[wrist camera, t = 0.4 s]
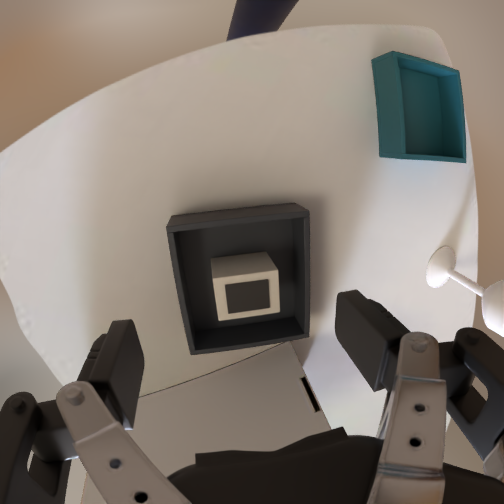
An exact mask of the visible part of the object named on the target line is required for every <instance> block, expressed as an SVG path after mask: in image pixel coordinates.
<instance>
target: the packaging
mask: <svg viewBox="0 0 504 504" xmlns="http://www.w3.org/2000/svg"><path fill="white" fill-rule="evenodd" d="M329 430H332V429H331V427H330V425H329V423H328V421H327V419H326V417H325V415H324V412H323V410H322V408H321V406H320V404H319V402H318V400H317V398H316V396H315V393H314V391H313V389H312V387H311V385H310V383H309V381H308V379H307V376H306V374H305V372H304V370H303V368H302V366H301V364H300V362H299V360H298V357H297V355H296V353H295V351H294V349H293V347H292V345H291V343H290V341H287V342H285V343H283V344H281V345H278V346H276V347H274V348H272V349H269V350H267V351H265V352H262V353H260V354H258V355H255V356H253V357H250V358H248V359H246V360H243V361H241V362H238V363H236V364H233V365H231V366H228V367H226V368H223V369H221V370H218V371H215V372H213V373H210V374H207V375H205V376H202V377H199V378H197V379H194V380H191V381H188V382H185V383H183V384H180V385H177V386H174V387H171V388H168V389H165V390H162V391H159V392H156V393H153V394H150V395H146V396H143V397H140V398H138V403H137V409H136V415H135V421H134V427H133V430H126V431H127V432H128V434H129V435H130V436H131V438H132V439H133V440H134V441H135V443H136V444H137V445H138V446H139V447H140V449H141V450H142V451H143V452H144V453H145V455H146V456H147V457H148V458H149V459H150V460H151V462H152V463H153V464H154V465H155V466H156V467H157V468H158V469H159V471H160V472H161V473H162V474H163V475H164V476H165V477H168V476H169V475H171V474H172V473H174V472H175V471H177V470H179V469H181V468H184V467H186V466H189V465H192V464H195V453H207V452H217V451H226V450H243V451H275V450H278V449H280V448H283V447H285V446H287V445H290V444H292V443H294V442H296V441H299V440H301V439H303V438H305V437H307V436H310V435H314V434H318V433H321V432H325V431H329ZM81 504H107V503H106V501H105V500H104V498H103V497H102V495H101V494H100V492H99V491H98V489H97V488H96V486H95V484H94V483H93V481H92V479H91V478H90V476H89V474H88V473H87V474H86V479H85V483H84V489H83V494H82V500H81Z"/></svg>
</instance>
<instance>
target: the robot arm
mask: <svg viewBox="0 0 504 504" xmlns="http://www.w3.org/2000/svg"><path fill="white" fill-rule="evenodd" d="M335 333H336V337H337V339H338V341H339V342H340V344H341V345H342V347H343V348H344V349H345V351H346V352H347V354H348V355H349V357H350V358H351V359H352V361H353V362H354V364H355V365H356V367H357V368H358V369H359V371H360V372H361V374H362V375H363V377H364V378H365V379H366V381H367V382H368V384H369V385H370V387H371V388H372V390H373V391H374V392H376V391H379V390H382V389H384V388H386V390H387V391H388V392H387V395H386V398H385V403H384V407H383V411H382V416H381V420H380V424H379V428H378V431H377V435H376V437H370V436H362V435H348V436H347V434H346V432H345V430H344V428H343V427H339V428H336V429H332V430H329V431H325V432H321V433H318V434H314V435H310V436H307V437H305V438H303V439H301V440H299V441H296V442H294V443H292V444H290V445H287V446H285V447H283V448H280V449H278V450H275V451H243V450H226V451H217V452H207V453H195V464H192V465H189V466H186V467H184V468H181V469H179V470H177V471H175V472H174V473H172V474H171V475H169V476H168V477H165V476H164V475H163V474H162V473H161V472H160V471H159V469H158V468H157V467H156V466H155V465H154V464H153V463H152V462H151V460H150V459H149V458H148V457H147V456H146V455H145V453H144V452H143V451H142V450H141V449H140V447H139V446H138V445H137V444H136V443H135V441H134V440H133V439H132V438H131V436H130V435H129V434H128V432H127V431H126V430H133V427H134V421H135V415H136V409H137V403H138V398H139V392H140V387H141V381H142V376H143V371H144V355H143V351H142V348H141V345H140V341H139V338H138V335H137V331H136V328H135V325H134V322H133V321H132V320H131V319H129V320H117V321H113V322H112V324H111V326H110V328H109V330H108V333H107V334H102V335H101V336H100V337H99V338H98V339H97V340H96V341H94V343H93V345H92V348H91V350H90V352H89V354H88V356H87V359H86V361H85V363H84V365H83V367H82V370H81V372H80V374H79V376H78V379H77V381H75V382H71V383H69V384H67V385H65V386H64V387H62V388H61V389H60V391H59V392H58V393H57V396H56V400H51V401H46V402H41V403H37V401H36V400H35V398H34V396H32V394H30V393H28V392H19V393H16V394H14V395H12V396H10V397H9V398H8V399H7V400H6V401H5V403H4V405H3V407H2V409H1V411H0V504H64V503H65V496H66V495H65V494H66V489H67V483H68V476H69V471H70V466H71V460H72V459H76V458H80V460H81V462H82V464H83V466H84V467H85V469H86V471H87V473H88V474H89V476H90V478H91V479H92V481H93V483H94V484H95V486H96V488H97V489H98V491H99V492H100V494H101V495H102V497H103V498H104V500H105V501H106V503H107V504H504V350H503V349H502V348H501V347H500V346H499V345H498V344H496V343H495V342H494V341H493V340H492V339H491V338H489V337H488V336H487V335H486V334H485V333H484V332H482V331H480V330H478V329H475V328H470V327H466V328H462V329H460V330H458V331H457V333H456V336H455V339H454V341H451V342H442V343H438V341H437V340H436V339H435V338H434V337H433V336H431V335H429V334H427V333H424V332H410V331H409V330H408V329H407V328H406V327H405V326H404V325H403V324H402V323H401V322H400V321H398V320H397V319H396V318H395V317H393V315H392V314H391V313H390V312H389V311H388V312H387V309H385V308H384V307H383V306H382V305H381V304H380V303H378V302H375V301H373V300H371V299H367V298H366V297H364V296H363V295H362V294H361V293H360V292H359V291H358V290H351V291H345V292H340V293H338V295H337V303H336V317H335ZM475 376H477V377H478V378H479V380H480V381H481V382H482V383H483V384H484V385H485V386H486V388H487V390H488V399H487V401H485V399H484V398H483V397H482V396H481V395H480V394H479V392H477V390H476V389H475V388H474V387H473V386H472V383H473V380H474V378H475ZM446 410H447V412H448V413H449V414H450V416H451V417H452V418H453V420H454V421H455V422H456V424H457V425H458V426H459V428H460V429H461V431H462V432H463V433H464V435H465V436H466V438H467V439H468V440H469V442H470V443H471V444H472V446H473V447H474V449H475V450H476V451H477V453H478V455H479V456H480V457H481V459H482V460H483V461H484V465H483V468H484V472H485V473H484V474H480V473H477V472H473V471H470V470H466V469H463V468H460V467H457V466H453V465H450V464H447V463H444V462H443V457H444V446H445V431H446ZM31 450H32V451H33V452H34V454H33V458H32V461H31V465H30V468H29V472H28V470H27V462H28V458H29V455H30V452H31Z"/></svg>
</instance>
